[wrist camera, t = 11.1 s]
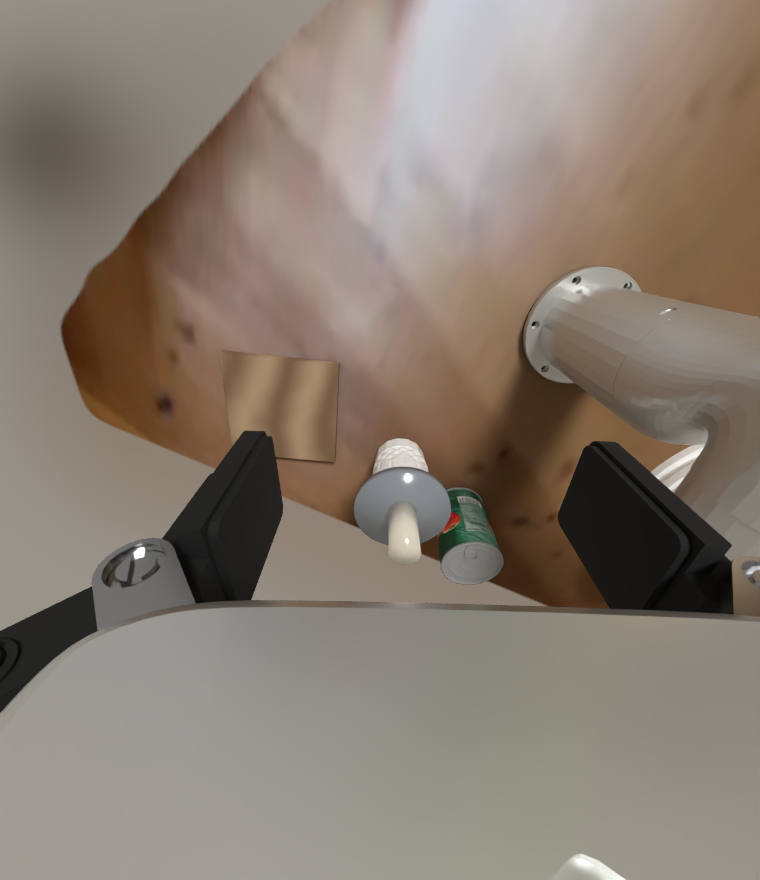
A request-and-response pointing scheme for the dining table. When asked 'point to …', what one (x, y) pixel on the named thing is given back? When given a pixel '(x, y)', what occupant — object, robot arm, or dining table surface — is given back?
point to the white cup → (399, 455)
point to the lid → (402, 510)
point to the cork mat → (283, 402)
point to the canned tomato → (468, 541)
